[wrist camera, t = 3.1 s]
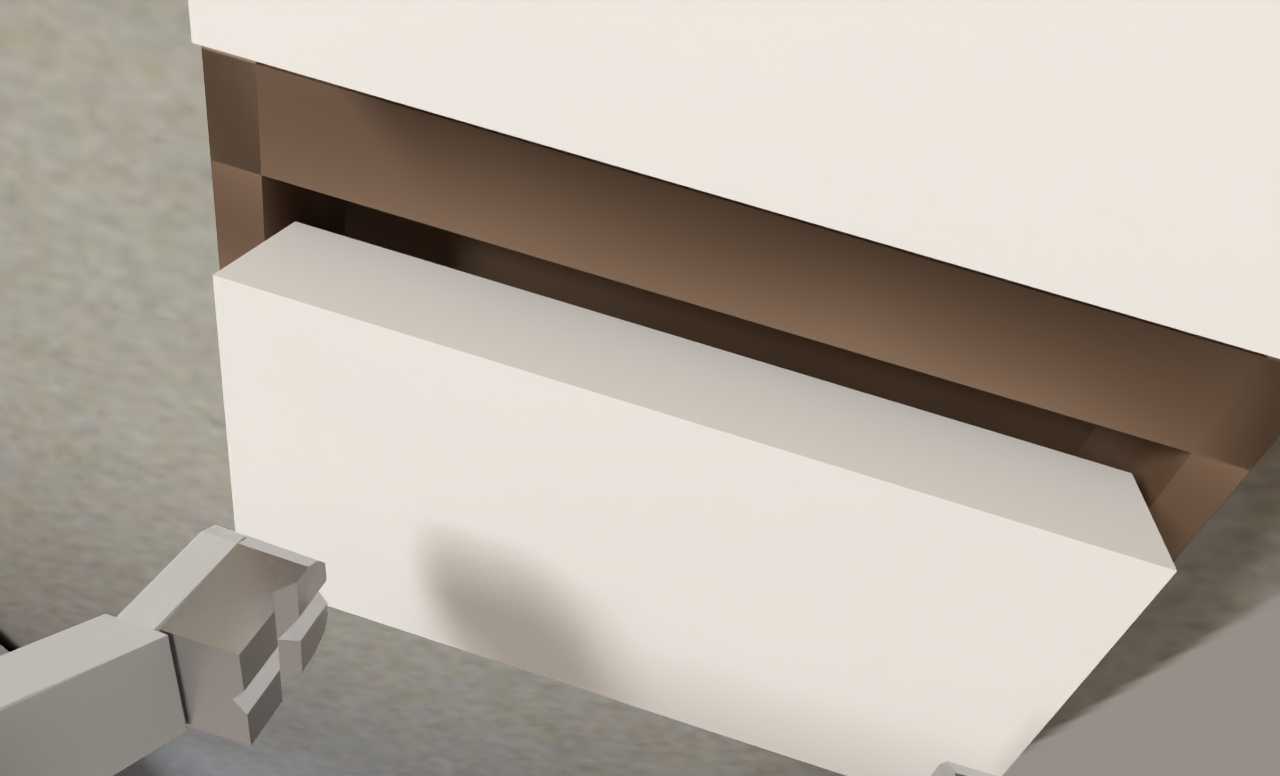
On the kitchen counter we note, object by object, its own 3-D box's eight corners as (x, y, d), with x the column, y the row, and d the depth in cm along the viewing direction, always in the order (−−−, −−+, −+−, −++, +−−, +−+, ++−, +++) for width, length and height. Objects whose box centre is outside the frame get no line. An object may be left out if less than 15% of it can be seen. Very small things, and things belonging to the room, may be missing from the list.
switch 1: (955, 712, 15) (967, 815, 14) (302, 503, 16) (239, 576, 14) (1131, 473, 12) (1177, 571, 10) (295, 221, 13) (212, 274, 11)
